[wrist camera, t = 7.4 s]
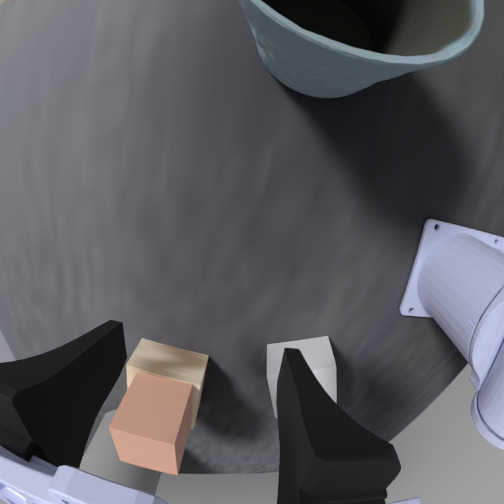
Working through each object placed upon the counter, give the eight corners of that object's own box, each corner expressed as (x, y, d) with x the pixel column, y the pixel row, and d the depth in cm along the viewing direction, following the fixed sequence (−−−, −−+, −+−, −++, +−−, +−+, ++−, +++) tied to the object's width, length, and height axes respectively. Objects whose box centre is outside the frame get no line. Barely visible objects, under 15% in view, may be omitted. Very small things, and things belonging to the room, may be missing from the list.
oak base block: (209, 354, 26) (200, 385, 22) (200, 399, 27) (193, 429, 24) (142, 336, 25) (126, 364, 22) (142, 383, 27) (129, 411, 24)
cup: (110, 399, 28) (74, 467, 19) (178, 431, 29) (157, 504, 20) (100, 432, 31) (72, 490, 22) (158, 459, 32) (140, 520, 22)
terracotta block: (192, 383, 22) (174, 444, 16) (192, 419, 23) (177, 475, 18) (136, 372, 22) (108, 427, 16) (142, 408, 23) (120, 460, 18)
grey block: (327, 335, 24) (336, 365, 21) (329, 378, 26) (336, 410, 22) (267, 343, 25) (266, 375, 21) (274, 386, 26) (275, 418, 23)
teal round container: (332, 137, 19) (411, 129, 8) (211, 50, 18) (153, -39, 6) (410, 43, 16) (511, -13, 5) (299, -37, 15) (319, -143, 3)
